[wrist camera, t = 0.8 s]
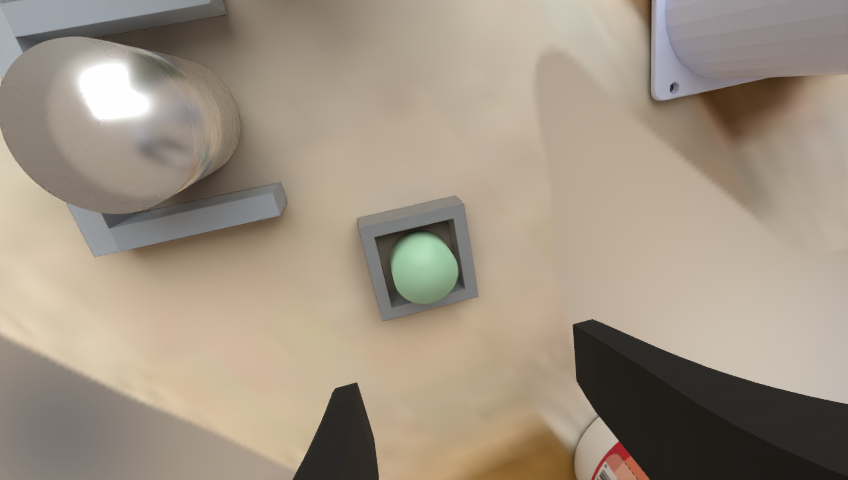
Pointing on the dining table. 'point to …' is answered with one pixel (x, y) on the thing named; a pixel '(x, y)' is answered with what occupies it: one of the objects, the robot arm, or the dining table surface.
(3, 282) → the dining table surface
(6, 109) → the metal billet
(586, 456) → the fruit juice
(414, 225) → the button housing
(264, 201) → the grey piece
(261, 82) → the dining table surface
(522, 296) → the dining table surface
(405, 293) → the button
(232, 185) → the dining table surface
